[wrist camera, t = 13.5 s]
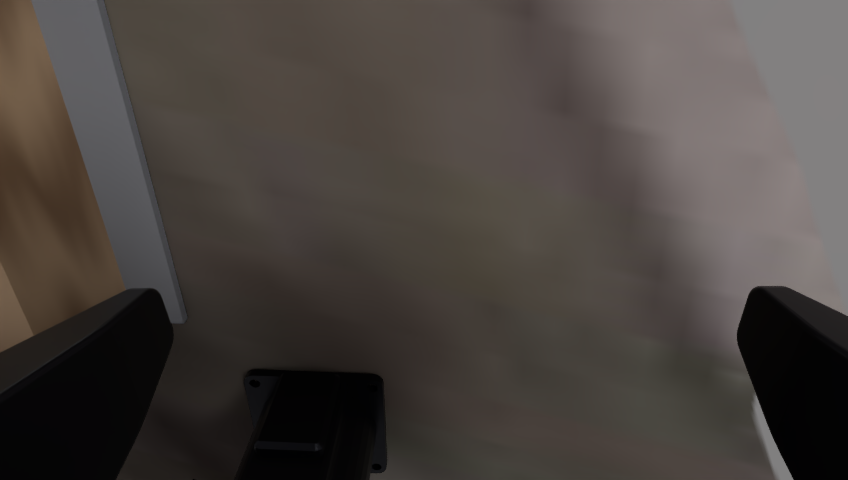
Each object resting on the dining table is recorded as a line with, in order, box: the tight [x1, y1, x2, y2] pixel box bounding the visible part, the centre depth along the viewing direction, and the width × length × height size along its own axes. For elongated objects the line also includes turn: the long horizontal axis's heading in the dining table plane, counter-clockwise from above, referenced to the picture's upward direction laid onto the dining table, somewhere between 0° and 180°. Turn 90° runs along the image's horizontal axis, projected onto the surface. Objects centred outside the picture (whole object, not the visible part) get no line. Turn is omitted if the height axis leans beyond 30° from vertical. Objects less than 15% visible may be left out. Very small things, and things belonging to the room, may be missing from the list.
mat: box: [31, 0, 188, 324], centre depth 20 cm, size 16×7×1 cm, turn 0°
